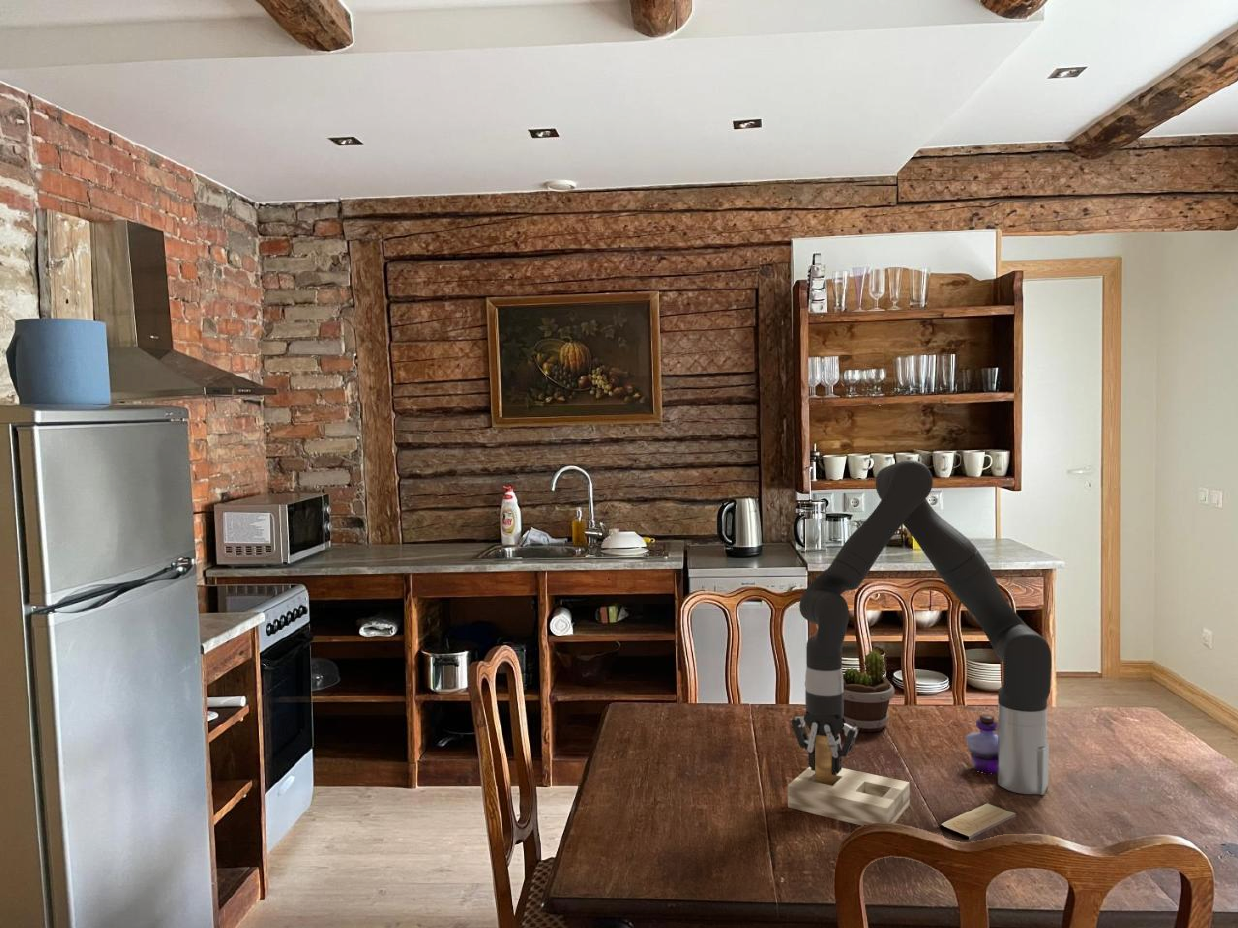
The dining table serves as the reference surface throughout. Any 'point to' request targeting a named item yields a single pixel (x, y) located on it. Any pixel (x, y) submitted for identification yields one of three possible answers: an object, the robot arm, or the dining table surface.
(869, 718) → the flowerpot
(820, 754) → the peg
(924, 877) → the dining table surface
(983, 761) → the potion bottle
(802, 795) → the hole block
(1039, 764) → the robot arm
